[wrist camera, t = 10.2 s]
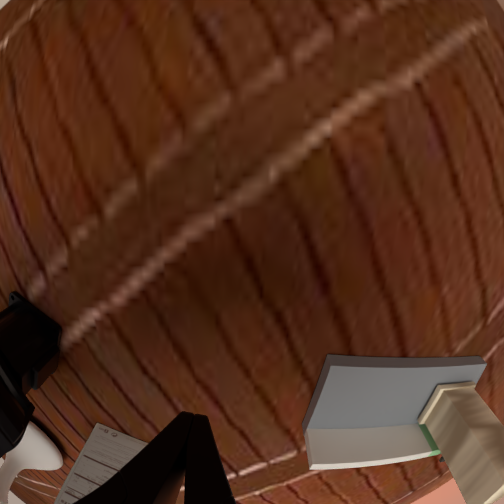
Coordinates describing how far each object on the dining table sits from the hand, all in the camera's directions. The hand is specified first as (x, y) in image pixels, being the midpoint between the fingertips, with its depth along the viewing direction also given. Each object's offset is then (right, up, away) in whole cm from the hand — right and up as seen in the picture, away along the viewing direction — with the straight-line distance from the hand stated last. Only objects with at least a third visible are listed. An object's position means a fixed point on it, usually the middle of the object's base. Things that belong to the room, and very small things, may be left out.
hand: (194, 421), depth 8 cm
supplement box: (-12, -17, +17) cm, 27 cm away
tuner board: (+15, -7, +14) cm, 22 cm away
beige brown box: (+20, -10, +13) cm, 26 cm away
